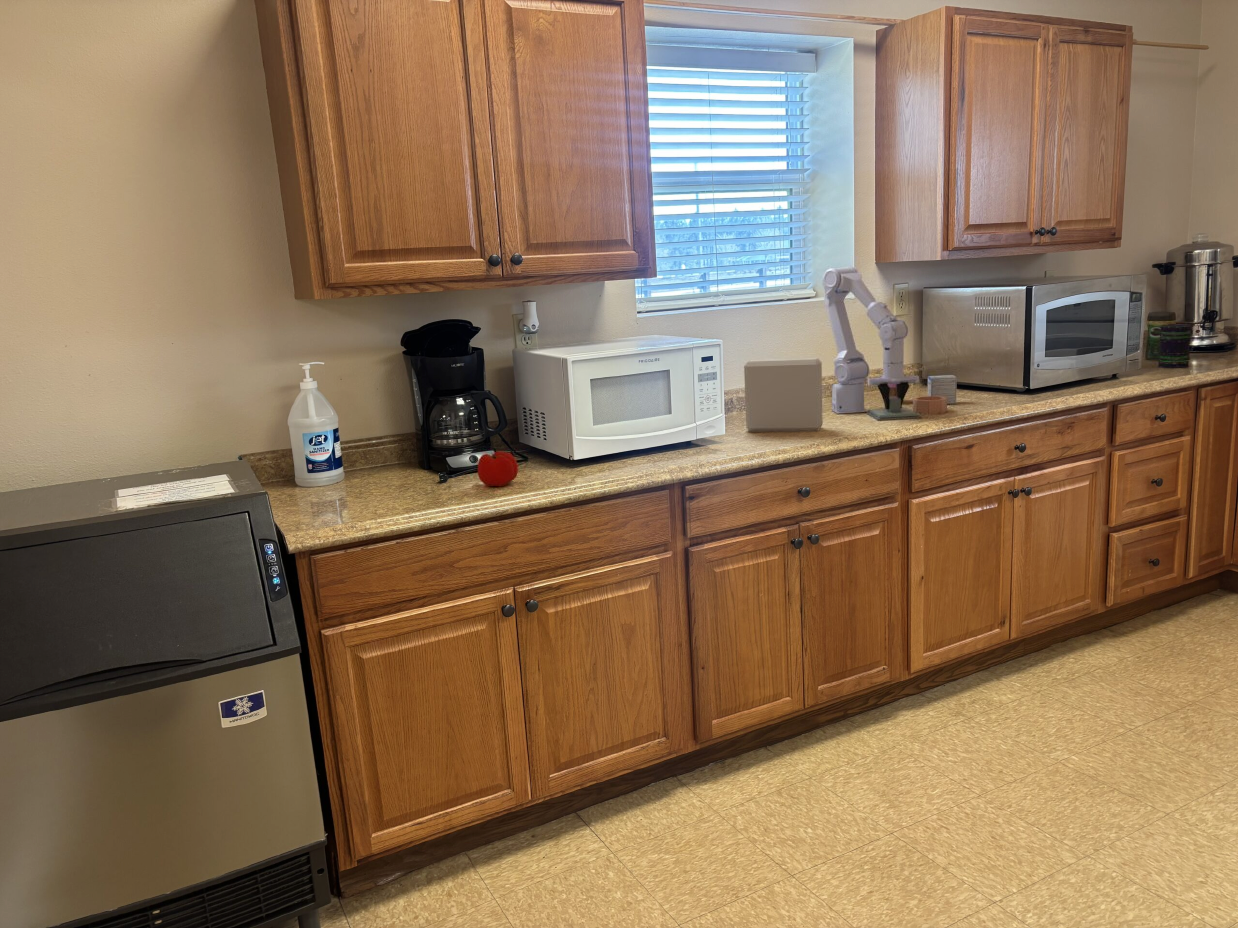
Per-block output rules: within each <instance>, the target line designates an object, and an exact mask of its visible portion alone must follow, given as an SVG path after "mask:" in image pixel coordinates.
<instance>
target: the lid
mask: <svg viewBox="0 0 1238 928" xmlns="http://www.w3.org/2000/svg"><path fill="white" fill-rule="evenodd" d="M869 412H870V413H872V414H874V415H875V416H877V417H879V418H889V417H905V416H918V415H919V414H918V413H917V412H915V411H913V409H910V408H908V407H905V406H902V408H901V399H900V398H898V397H896V396H894V397H889V409H885V408H871V409H869Z"/></svg>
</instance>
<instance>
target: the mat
mask: <svg viewBox="0 0 1238 928" xmlns="http://www.w3.org/2000/svg"><path fill="white" fill-rule="evenodd" d="M866 415H868V417H871V418H872V417H873V418H872V419H874V420H876V421H877V422H878V421H879V422H881V421H882V420H883V421H897V420H914V419H915V418H916V419H921V418H922V416H921V415H920V414H918V416H905V417H889V418H879V417H877V416H875V415H874V414H872V413H870V411H868V412H866ZM883 421H882V422H883Z"/></svg>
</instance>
